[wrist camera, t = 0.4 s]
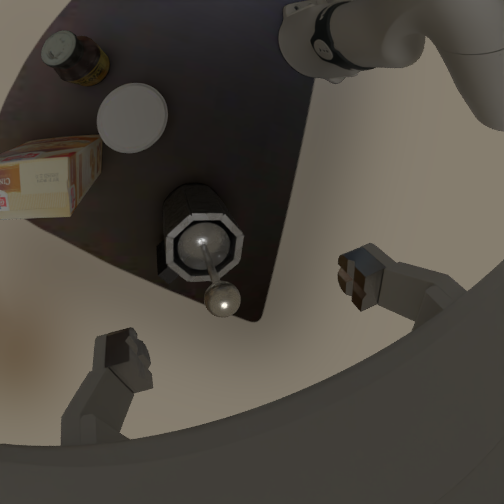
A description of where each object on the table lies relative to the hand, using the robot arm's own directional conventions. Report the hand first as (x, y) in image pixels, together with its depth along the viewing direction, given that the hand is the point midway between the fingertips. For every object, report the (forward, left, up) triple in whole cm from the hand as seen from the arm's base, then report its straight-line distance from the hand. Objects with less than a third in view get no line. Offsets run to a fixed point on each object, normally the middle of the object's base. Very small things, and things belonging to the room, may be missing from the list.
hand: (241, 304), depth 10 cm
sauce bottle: (+1, -20, -41) cm, 45 cm away
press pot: (+8, +12, -41) cm, 43 cm away
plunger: (+6, +12, -28) cm, 31 cm away
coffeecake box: (+15, -13, -41) cm, 46 cm away
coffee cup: (+1, -8, -41) cm, 42 cm away
